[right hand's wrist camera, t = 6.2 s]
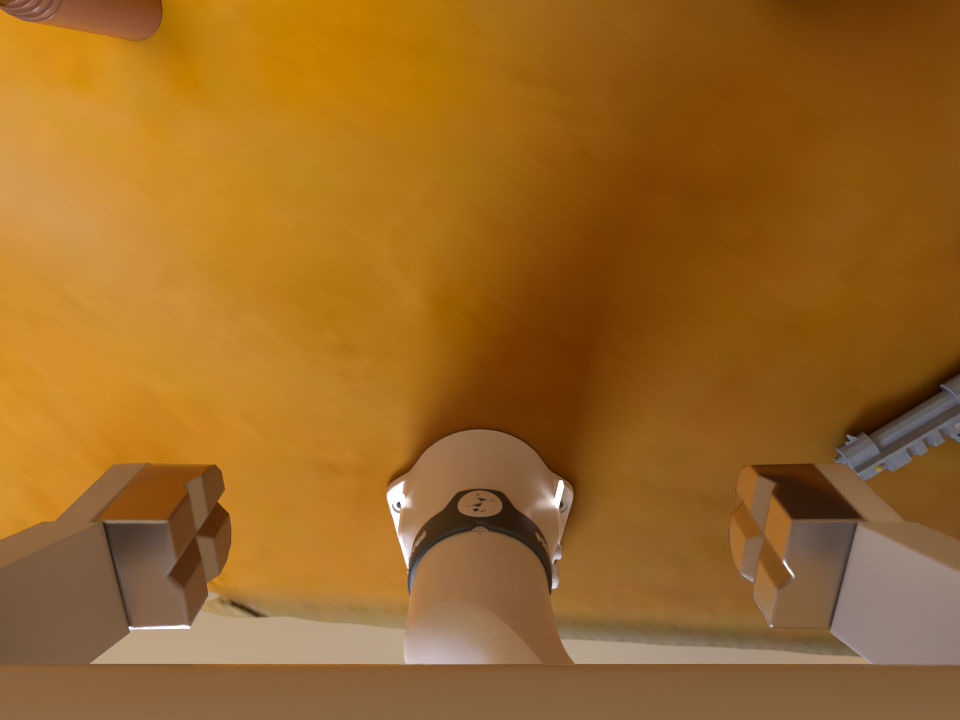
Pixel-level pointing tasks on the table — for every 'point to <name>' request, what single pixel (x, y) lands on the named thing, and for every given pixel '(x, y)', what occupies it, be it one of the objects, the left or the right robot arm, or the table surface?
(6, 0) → the cap
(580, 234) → the table surface
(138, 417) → the table surface
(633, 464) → the table surface
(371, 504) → the table surface
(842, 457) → the toy gun
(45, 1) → the bottle
